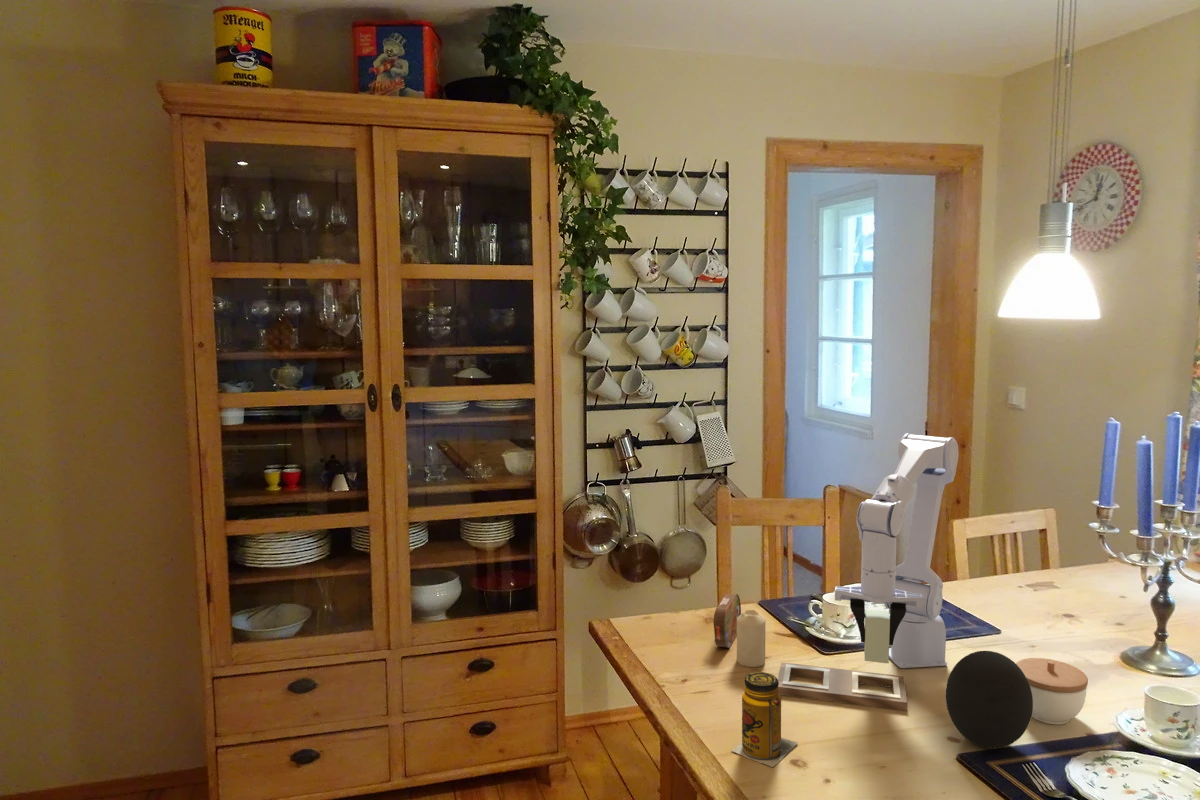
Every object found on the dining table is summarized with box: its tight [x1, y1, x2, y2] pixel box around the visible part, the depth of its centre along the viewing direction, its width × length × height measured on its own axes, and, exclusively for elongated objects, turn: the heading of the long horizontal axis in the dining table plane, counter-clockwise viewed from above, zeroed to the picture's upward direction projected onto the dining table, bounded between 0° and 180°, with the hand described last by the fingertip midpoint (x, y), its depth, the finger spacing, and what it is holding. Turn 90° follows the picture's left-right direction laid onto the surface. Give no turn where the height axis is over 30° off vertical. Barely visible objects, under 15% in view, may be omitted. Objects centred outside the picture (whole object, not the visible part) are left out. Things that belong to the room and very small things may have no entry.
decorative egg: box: [945, 650, 1033, 749], centre depth 127 cm, size 12×12×15 cm
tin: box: [712, 593, 742, 649], centre depth 168 cm, size 15×3×8 cm, turn 158°
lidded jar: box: [1015, 657, 1089, 726], centre depth 135 cm, size 11×11×9 cm
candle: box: [736, 609, 767, 668], centre depth 157 cm, size 6×6×10 cm
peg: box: [863, 608, 890, 664], centre depth 143 cm, size 4×4×8 cm
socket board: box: [777, 661, 908, 712], centre depth 146 cm, size 22×10×2 cm, turn 73°
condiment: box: [730, 671, 799, 768], centre depth 127 cm, size 7×8×12 cm
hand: (876, 641), depth 143 cm, fingers closed on peg, 4 cm apart
